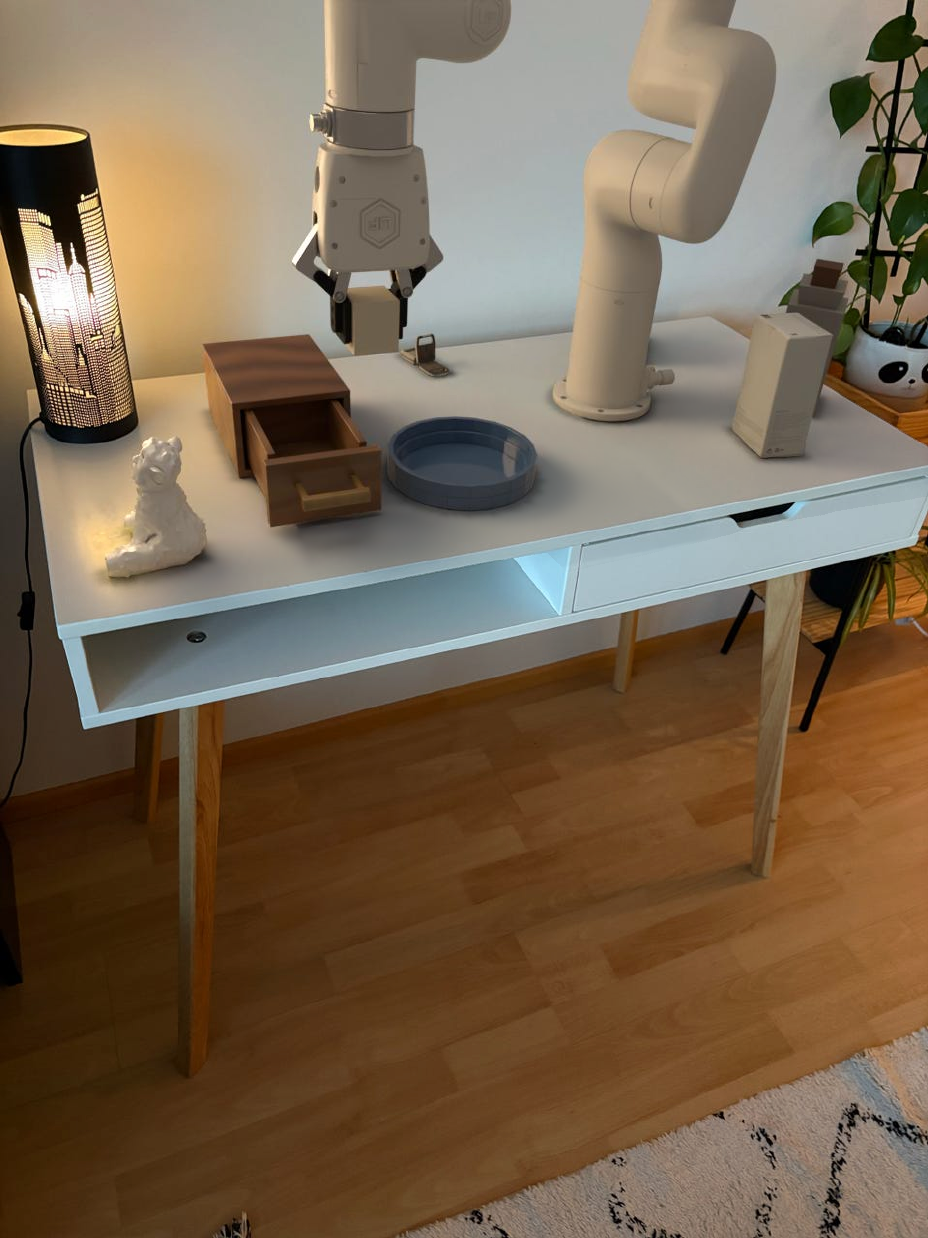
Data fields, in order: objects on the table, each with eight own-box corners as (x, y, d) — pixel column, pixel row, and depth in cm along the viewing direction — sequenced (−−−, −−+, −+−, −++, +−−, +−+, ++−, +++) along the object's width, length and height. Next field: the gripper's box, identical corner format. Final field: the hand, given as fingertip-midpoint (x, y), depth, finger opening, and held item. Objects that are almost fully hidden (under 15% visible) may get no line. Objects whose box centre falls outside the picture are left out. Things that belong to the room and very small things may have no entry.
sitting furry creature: (130, 524, 94) (110, 411, 87) (218, 528, 94) (206, 416, 87) (102, 579, 86) (78, 461, 79) (199, 583, 87) (183, 465, 79)
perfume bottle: (761, 406, 125) (797, 266, 114) (768, 387, 130) (804, 252, 119) (813, 417, 123) (856, 276, 113) (818, 397, 129) (859, 261, 118)
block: (383, 335, 95) (384, 285, 92) (398, 351, 92) (400, 300, 89) (340, 338, 94) (339, 287, 91) (354, 356, 91) (354, 303, 88)
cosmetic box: (802, 457, 114) (839, 336, 105) (757, 459, 113) (790, 337, 104) (770, 425, 121) (801, 309, 112) (726, 428, 119) (755, 310, 110)
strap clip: (398, 356, 132) (398, 325, 129) (417, 352, 133) (417, 322, 131) (432, 378, 126) (433, 347, 124) (451, 373, 128) (452, 343, 125)
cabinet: (351, 462, 107) (350, 389, 101) (238, 477, 102) (231, 403, 97) (311, 401, 119) (309, 333, 113) (209, 412, 114) (201, 343, 109)
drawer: (395, 531, 94) (396, 470, 90) (281, 550, 90) (276, 487, 86) (337, 442, 108) (336, 386, 104) (237, 455, 104) (231, 397, 100)
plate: (497, 433, 114) (499, 409, 112) (559, 500, 103) (562, 473, 101) (368, 451, 109) (368, 425, 107) (417, 523, 97) (418, 496, 95)
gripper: (284, 139, 76) (293, 359, 87) (477, 137, 82) (463, 343, 93) (262, 120, 81) (273, 330, 92) (445, 120, 87) (435, 317, 98)
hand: (369, 334), depth 92 cm, fingers closed on block, 4 cm apart
